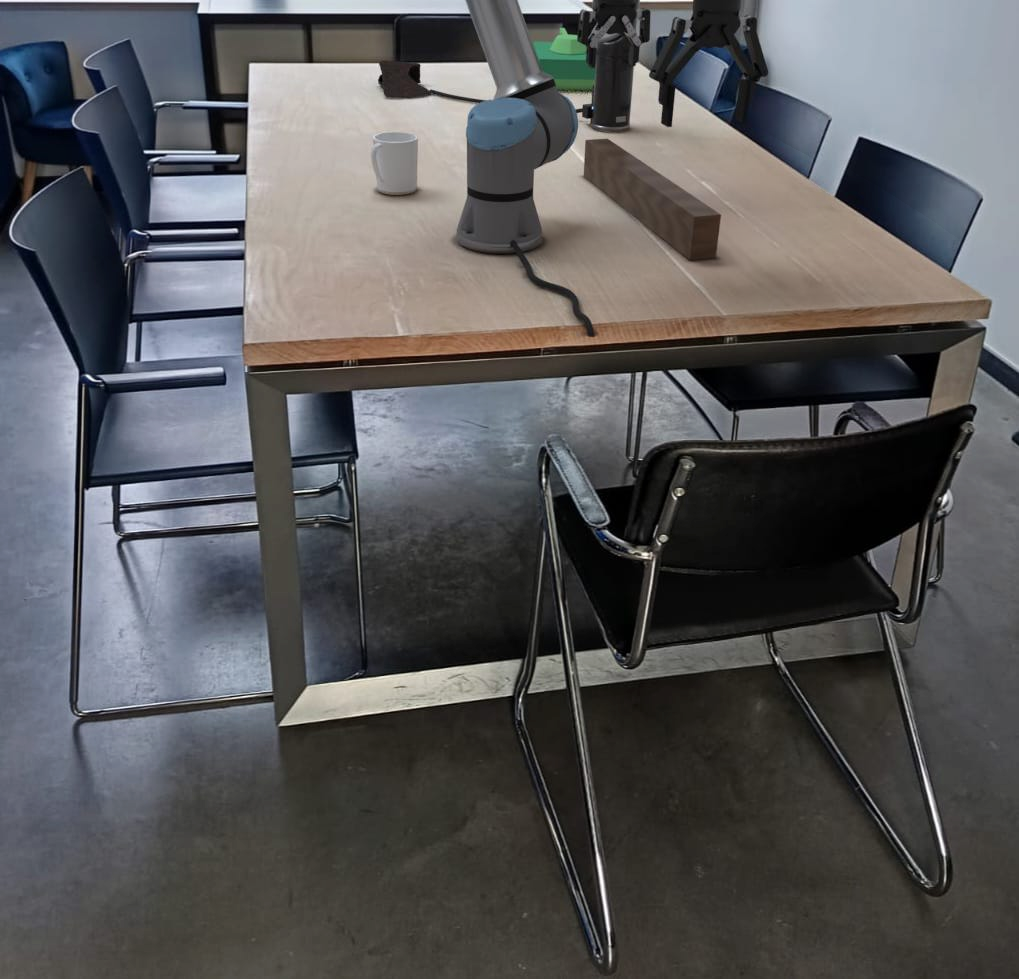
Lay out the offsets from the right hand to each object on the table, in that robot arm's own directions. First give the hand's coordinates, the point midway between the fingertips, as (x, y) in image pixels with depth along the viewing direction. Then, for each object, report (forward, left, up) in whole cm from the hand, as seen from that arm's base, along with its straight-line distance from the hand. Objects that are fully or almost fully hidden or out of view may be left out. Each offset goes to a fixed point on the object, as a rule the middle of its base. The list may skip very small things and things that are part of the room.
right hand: (611, 66), depth 216 cm
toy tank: (-94, +48, -23) cm, 108 cm away
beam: (+20, -4, -23) cm, 31 cm away
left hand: (+41, -9, -1) cm, 42 cm away
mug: (-14, -42, -23) cm, 50 cm away
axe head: (-99, -1, -23) cm, 101 cm away
